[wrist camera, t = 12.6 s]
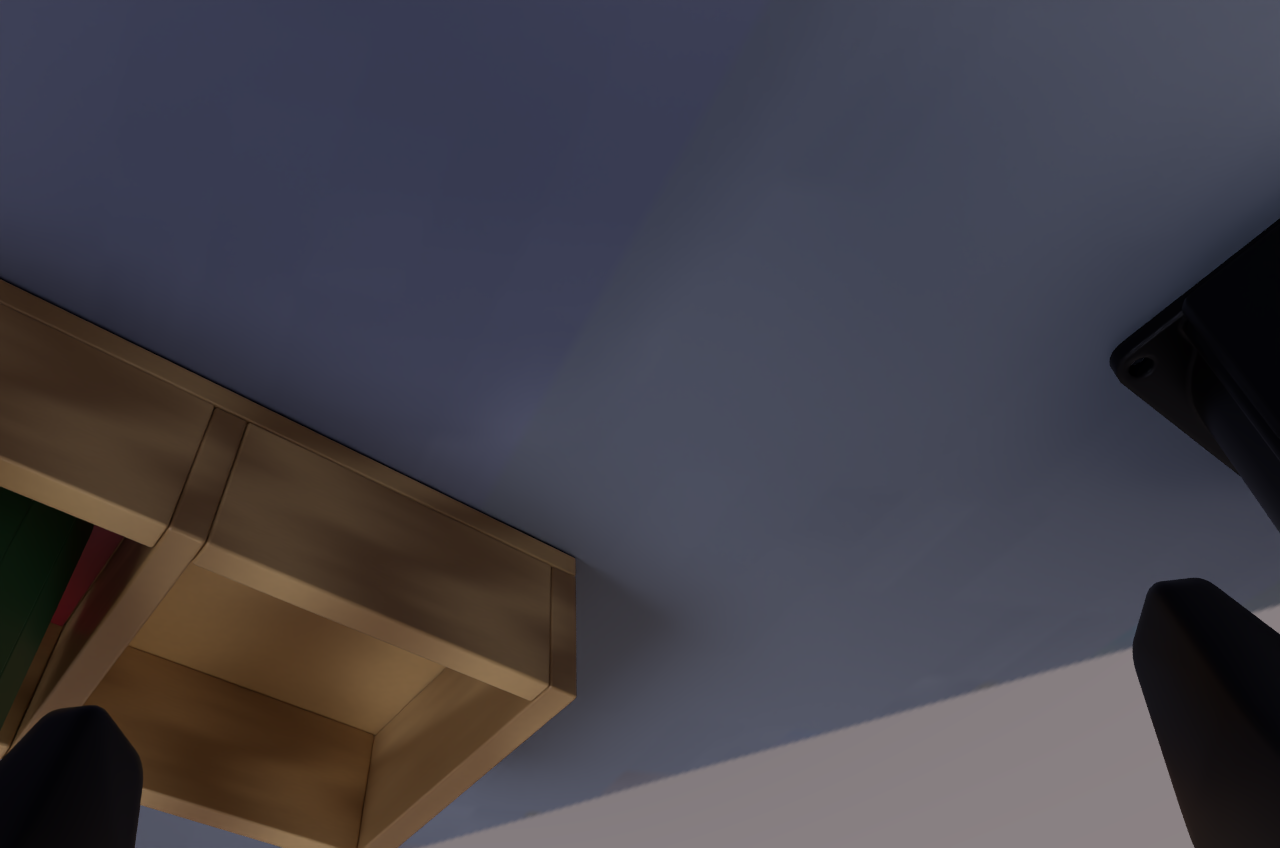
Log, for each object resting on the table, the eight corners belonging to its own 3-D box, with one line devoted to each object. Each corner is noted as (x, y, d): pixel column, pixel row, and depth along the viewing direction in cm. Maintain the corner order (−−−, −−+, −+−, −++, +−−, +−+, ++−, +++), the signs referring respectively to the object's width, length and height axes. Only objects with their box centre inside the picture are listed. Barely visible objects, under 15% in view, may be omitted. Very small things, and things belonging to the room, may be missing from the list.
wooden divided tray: (576, 557, 26) (577, 698, 23) (387, 735, 30) (367, 874, 27) (-232, 164, 19) (-390, 294, 15) (-330, 474, 23) (-468, 624, 20)
